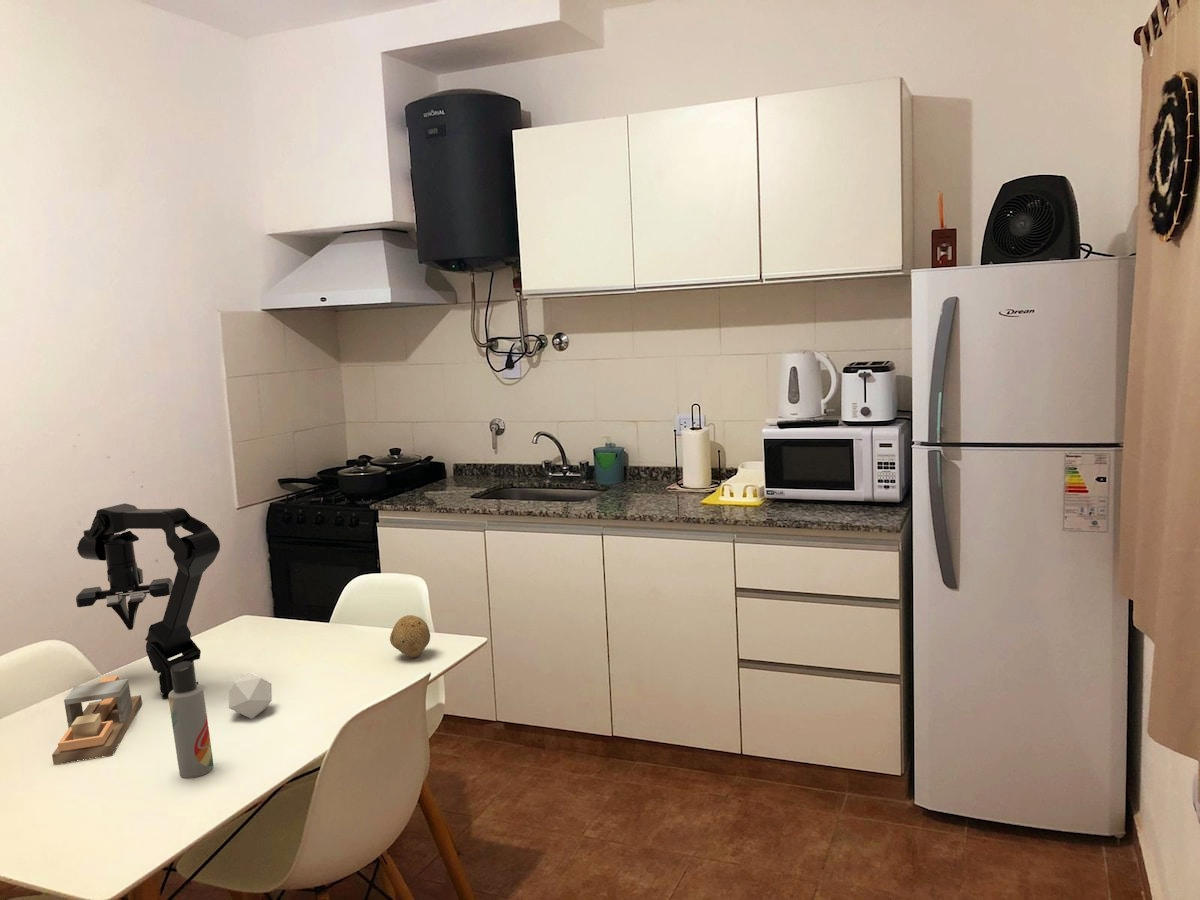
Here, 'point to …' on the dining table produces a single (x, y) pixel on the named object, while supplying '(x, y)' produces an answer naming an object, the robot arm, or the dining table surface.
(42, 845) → the dining table surface
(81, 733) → the birch block
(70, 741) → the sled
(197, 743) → the lotion bottle
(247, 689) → the die
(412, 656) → the brown round lump
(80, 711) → the tunnel
